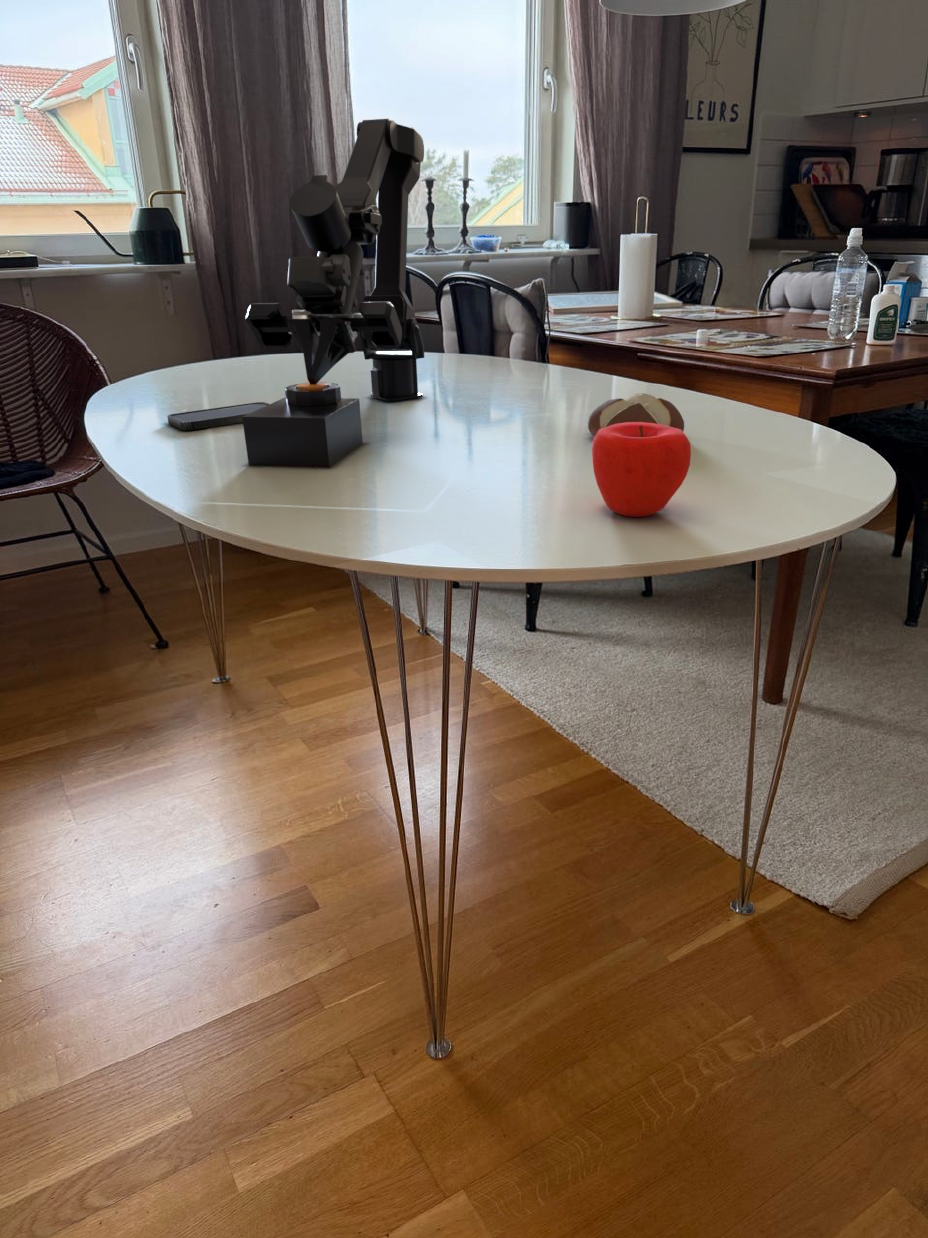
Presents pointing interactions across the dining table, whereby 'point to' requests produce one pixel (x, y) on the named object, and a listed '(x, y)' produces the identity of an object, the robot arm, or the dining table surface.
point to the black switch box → (304, 429)
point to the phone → (213, 416)
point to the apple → (639, 466)
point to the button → (312, 386)
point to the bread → (635, 412)
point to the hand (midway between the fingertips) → (311, 381)
